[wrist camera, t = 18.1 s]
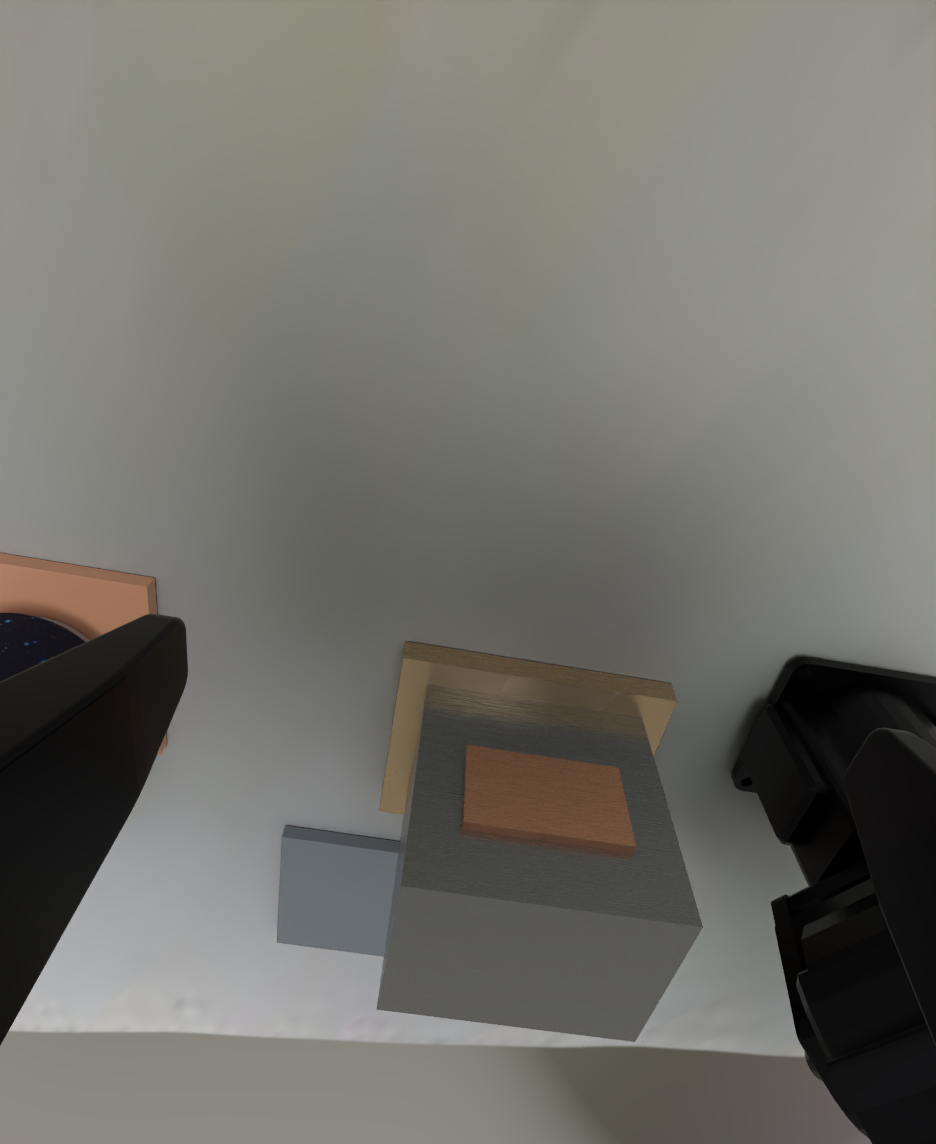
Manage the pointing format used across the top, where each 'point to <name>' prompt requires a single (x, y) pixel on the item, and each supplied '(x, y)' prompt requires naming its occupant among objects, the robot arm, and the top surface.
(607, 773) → the grey unit
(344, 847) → the slate pad
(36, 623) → the beverage can
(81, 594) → the terracotta pad
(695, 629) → the top surface
